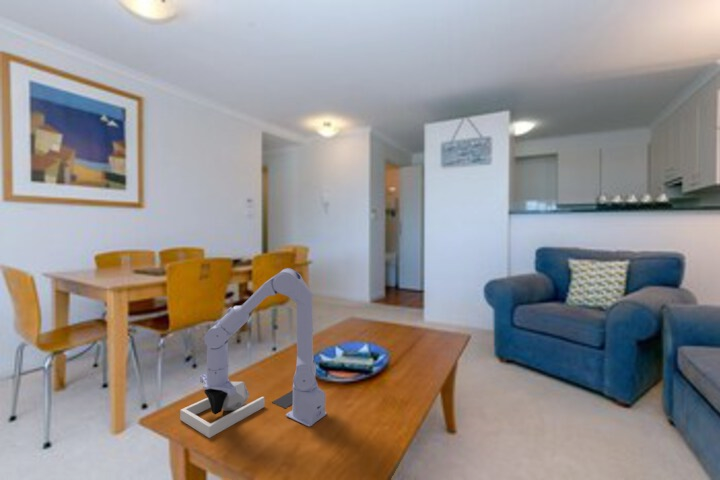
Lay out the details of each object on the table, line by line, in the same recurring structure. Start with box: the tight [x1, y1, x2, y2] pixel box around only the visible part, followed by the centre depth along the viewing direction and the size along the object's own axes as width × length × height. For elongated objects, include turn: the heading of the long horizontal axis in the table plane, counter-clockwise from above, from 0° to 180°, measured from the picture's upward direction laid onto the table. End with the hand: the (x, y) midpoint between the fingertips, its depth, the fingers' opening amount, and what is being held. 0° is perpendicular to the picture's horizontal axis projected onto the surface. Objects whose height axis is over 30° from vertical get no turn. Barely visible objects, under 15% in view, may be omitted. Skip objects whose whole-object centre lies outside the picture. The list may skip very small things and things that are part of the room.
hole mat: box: [271, 389, 293, 409], centre depth 106 cm, size 6×10×1 cm, turn 147°
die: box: [222, 381, 250, 412], centre depth 100 cm, size 8×9×10 cm
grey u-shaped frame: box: [179, 396, 266, 439], centre depth 97 cm, size 14×18×3 cm
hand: (217, 412), depth 95 cm, fingers closed
